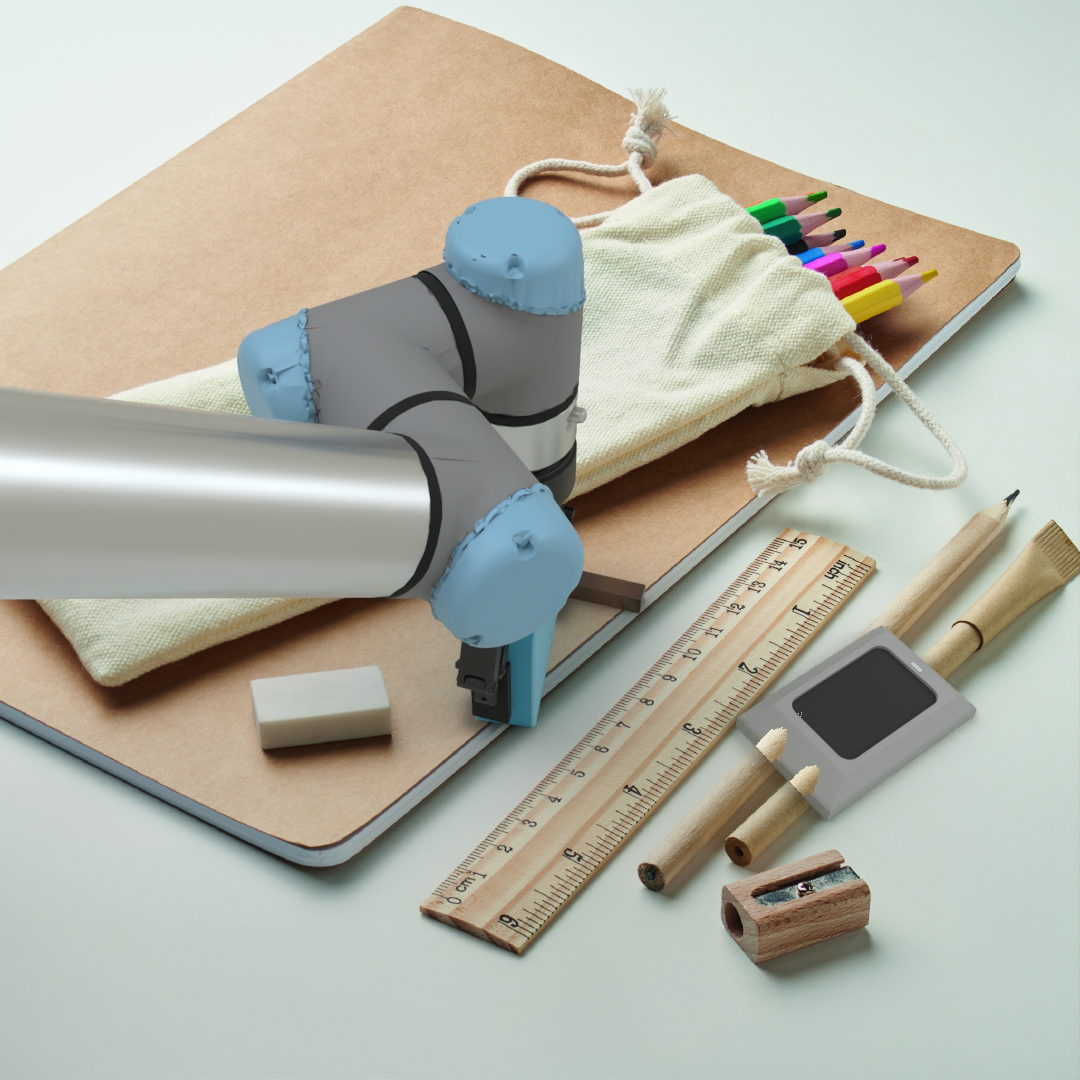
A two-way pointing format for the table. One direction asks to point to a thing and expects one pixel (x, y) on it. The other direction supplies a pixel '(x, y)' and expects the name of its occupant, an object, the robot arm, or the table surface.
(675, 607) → the table surface
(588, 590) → the bar
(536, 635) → the light blue thick block
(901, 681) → the grey badge holder
